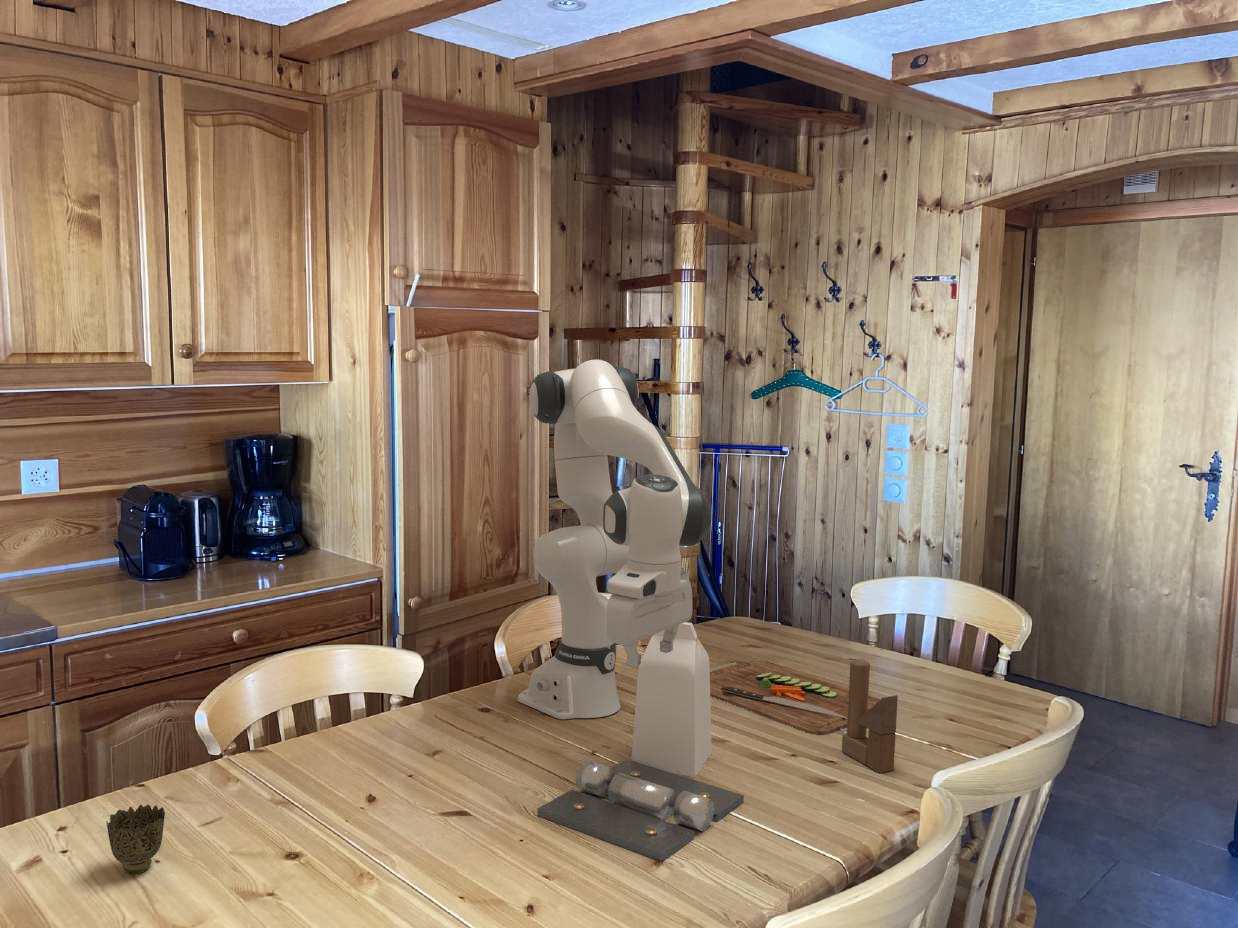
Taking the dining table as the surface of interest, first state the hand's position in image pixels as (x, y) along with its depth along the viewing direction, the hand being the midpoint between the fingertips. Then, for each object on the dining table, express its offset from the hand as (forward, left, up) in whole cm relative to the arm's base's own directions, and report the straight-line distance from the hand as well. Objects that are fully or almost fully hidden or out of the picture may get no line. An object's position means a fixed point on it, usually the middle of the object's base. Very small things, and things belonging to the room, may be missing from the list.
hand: (650, 658), depth 163 cm
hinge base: (+1, -2, -25) cm, 25 cm away
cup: (-45, -62, -25) cm, 81 cm away
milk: (-6, +18, -25) cm, 31 cm away
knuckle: (+1, -2, -25) cm, 25 cm away
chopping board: (-5, +63, -25) cm, 68 cm away
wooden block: (+23, +40, -25) cm, 52 cm away
